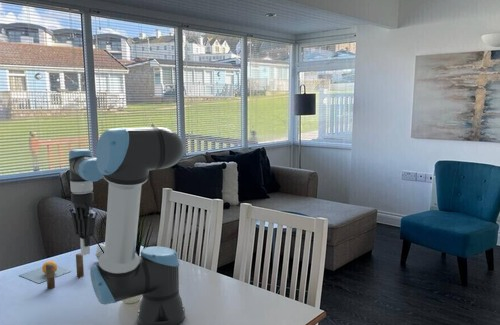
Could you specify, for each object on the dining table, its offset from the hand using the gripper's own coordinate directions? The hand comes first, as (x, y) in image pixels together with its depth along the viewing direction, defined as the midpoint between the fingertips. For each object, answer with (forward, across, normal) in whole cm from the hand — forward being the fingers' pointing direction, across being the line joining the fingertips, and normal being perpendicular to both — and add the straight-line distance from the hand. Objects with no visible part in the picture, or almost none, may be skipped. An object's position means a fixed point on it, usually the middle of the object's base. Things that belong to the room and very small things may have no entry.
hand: (85, 254), depth 151 cm
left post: (+14, +13, +6) cm, 20 cm away
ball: (+11, +25, -1) cm, 27 cm away
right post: (+14, +13, -6) cm, 20 cm away
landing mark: (+14, +27, 0) cm, 30 cm away
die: (+14, +17, -22) cm, 31 cm away
